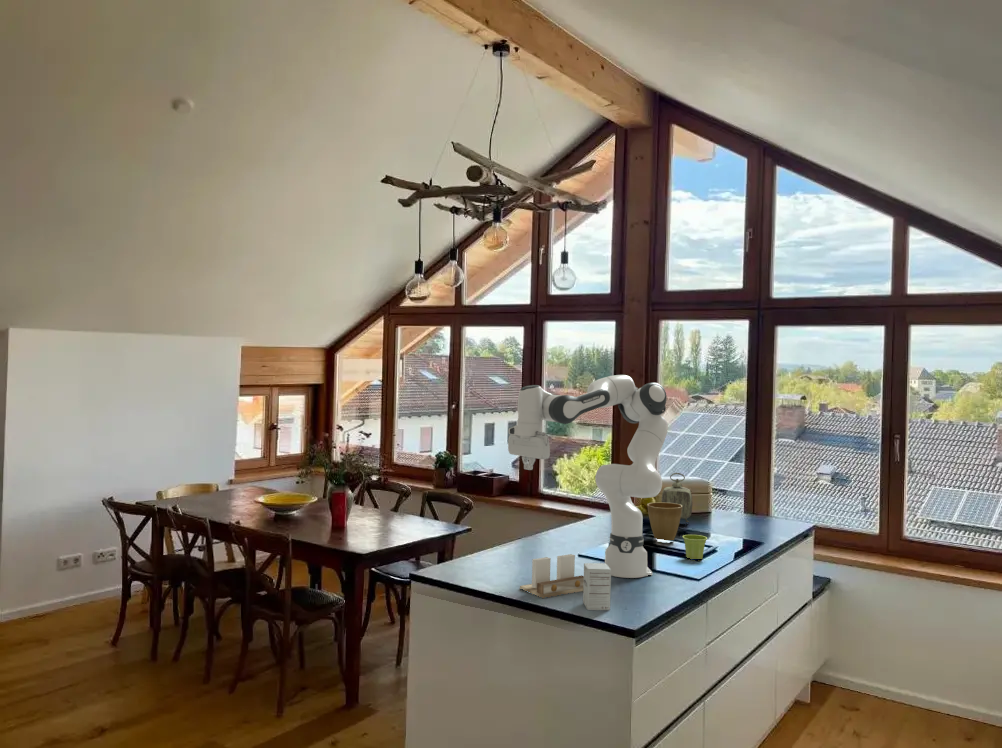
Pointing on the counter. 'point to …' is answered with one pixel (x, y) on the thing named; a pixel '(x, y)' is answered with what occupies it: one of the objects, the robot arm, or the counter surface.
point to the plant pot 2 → (694, 546)
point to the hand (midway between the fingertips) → (528, 469)
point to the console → (556, 587)
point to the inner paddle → (565, 566)
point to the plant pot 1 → (664, 519)
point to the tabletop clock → (679, 497)
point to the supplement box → (597, 586)
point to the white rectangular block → (540, 570)
